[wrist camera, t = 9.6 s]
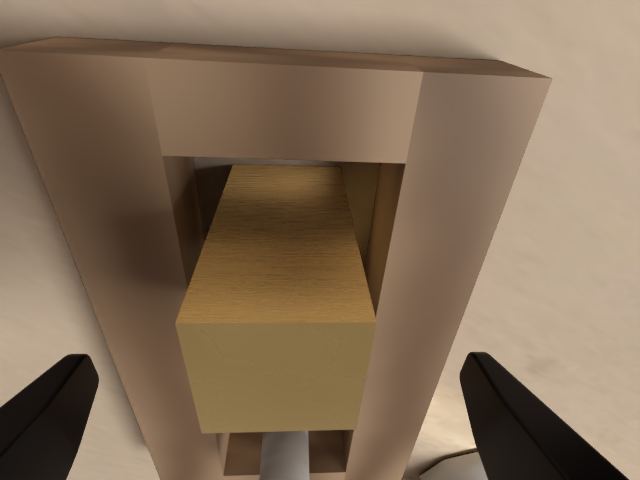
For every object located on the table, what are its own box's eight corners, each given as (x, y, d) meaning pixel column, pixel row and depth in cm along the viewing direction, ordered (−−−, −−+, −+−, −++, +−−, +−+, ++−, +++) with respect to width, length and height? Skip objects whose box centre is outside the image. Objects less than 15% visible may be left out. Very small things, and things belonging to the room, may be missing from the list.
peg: (240, 251, 16) (201, 433, 9) (233, 164, 14) (175, 323, 7) (332, 251, 16) (356, 429, 10) (339, 166, 14) (376, 322, 8)
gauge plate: (180, 446, 25) (151, 562, 20) (58, 37, 11) (-129, 73, 6) (387, 441, 26) (409, 549, 21) (500, 60, 12) (639, 108, 7)
